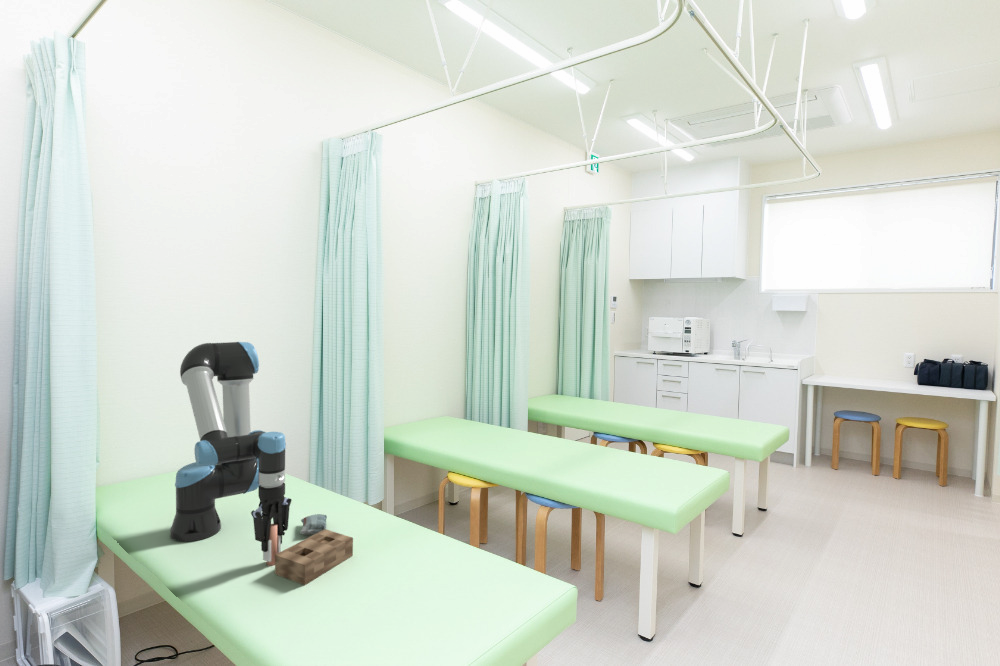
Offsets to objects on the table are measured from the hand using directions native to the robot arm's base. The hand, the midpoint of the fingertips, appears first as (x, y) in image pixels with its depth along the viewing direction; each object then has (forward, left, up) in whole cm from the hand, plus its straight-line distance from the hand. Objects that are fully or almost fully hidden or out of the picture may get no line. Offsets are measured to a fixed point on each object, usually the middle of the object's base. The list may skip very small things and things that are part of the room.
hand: (271, 557), depth 167 cm
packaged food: (-6, +23, -2) cm, 24 cm away
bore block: (+12, +6, -2) cm, 14 cm away
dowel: (0, 0, -2) cm, 2 cm away
